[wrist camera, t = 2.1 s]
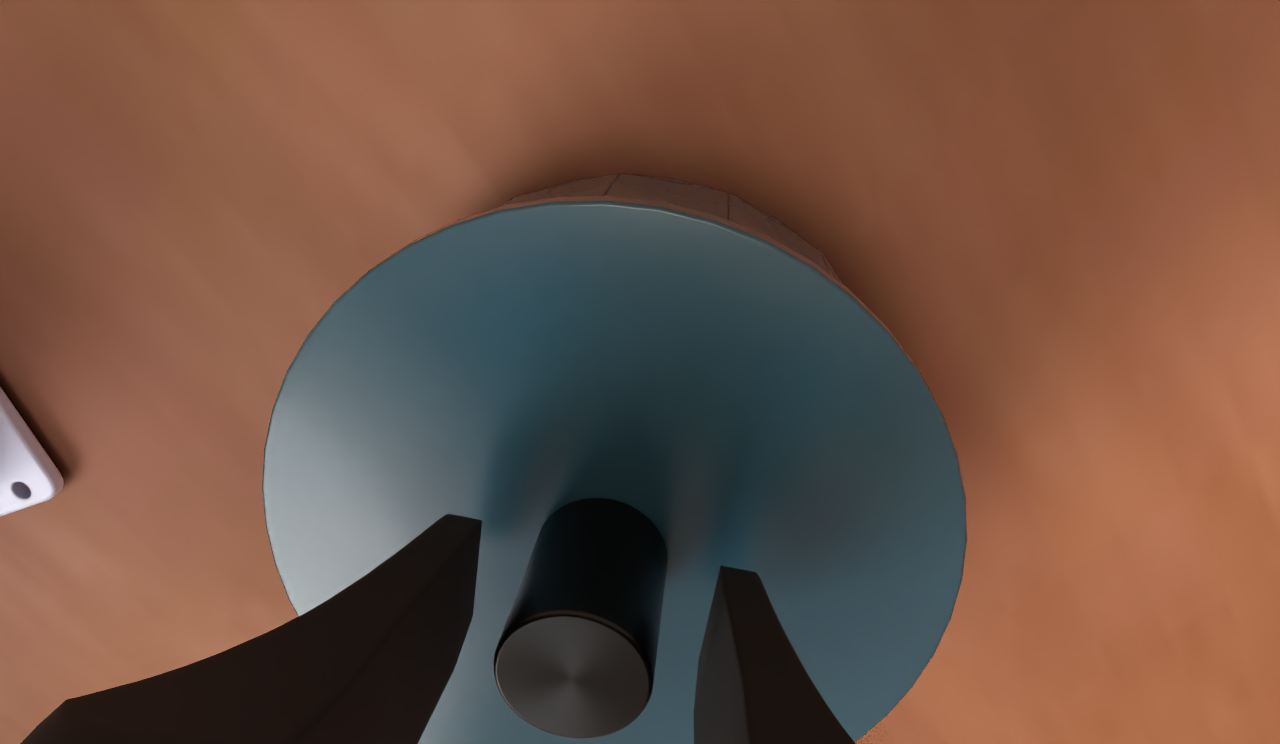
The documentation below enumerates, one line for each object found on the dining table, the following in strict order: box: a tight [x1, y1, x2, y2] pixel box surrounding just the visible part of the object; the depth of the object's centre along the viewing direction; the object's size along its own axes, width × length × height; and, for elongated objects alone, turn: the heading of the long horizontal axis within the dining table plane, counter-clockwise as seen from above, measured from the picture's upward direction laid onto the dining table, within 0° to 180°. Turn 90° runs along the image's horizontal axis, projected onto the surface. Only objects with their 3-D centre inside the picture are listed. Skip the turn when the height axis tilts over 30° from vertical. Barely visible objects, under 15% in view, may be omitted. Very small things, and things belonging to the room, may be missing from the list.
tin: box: [501, 173, 845, 286], centre depth 18 cm, size 12×12×5 cm
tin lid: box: [262, 196, 967, 744], centre depth 14 cm, size 13×13×4 cm
